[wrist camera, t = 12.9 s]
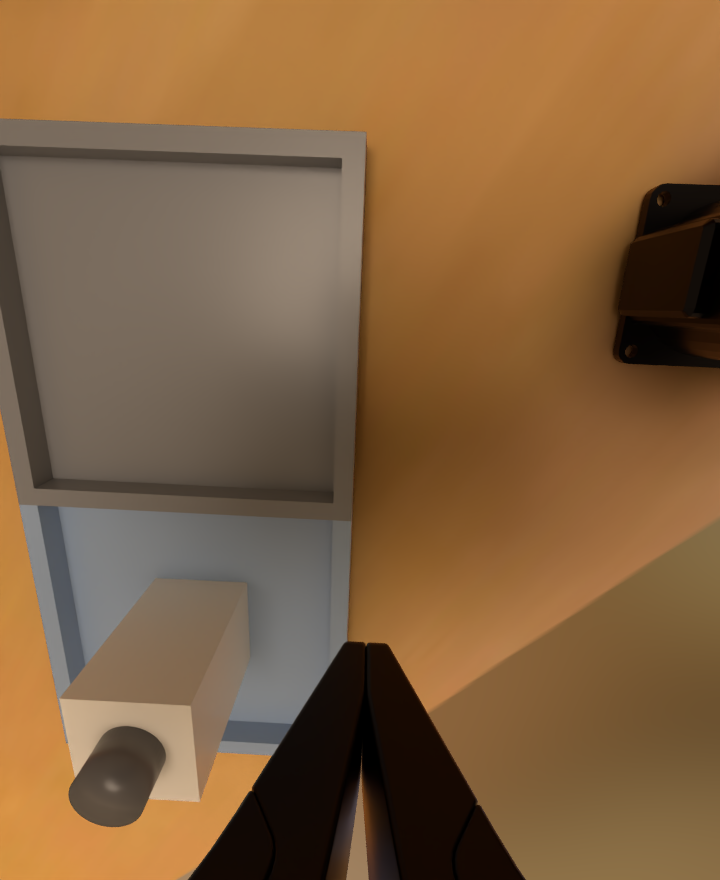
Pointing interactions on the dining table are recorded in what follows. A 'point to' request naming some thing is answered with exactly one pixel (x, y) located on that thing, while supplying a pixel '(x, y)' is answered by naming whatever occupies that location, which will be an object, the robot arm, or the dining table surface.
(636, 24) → the dining table surface
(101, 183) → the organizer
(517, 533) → the dining table surface
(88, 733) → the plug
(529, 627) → the dining table surface
